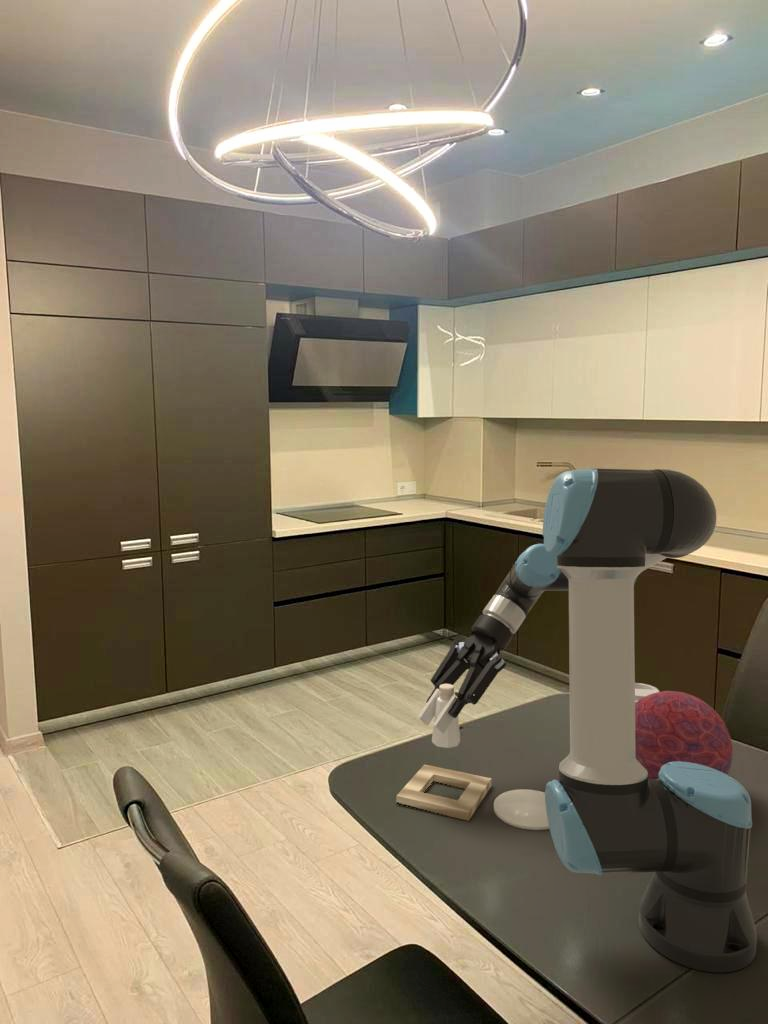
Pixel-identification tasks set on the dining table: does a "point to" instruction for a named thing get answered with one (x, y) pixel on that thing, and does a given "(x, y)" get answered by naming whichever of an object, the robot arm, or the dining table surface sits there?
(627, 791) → the robot arm
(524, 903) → the dining table surface
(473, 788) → the birch frame
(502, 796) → the white plate
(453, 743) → the pepper shaker
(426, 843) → the dining table surface
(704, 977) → the dining table surface
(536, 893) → the dining table surface
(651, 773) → the decorative sphere
